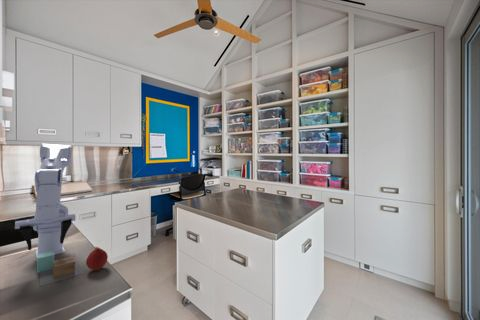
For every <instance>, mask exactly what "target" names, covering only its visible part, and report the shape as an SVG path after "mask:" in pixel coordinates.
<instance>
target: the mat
mask: <svg viewBox="0 0 480 320" xmlns="http://www.w3.org/2000/svg"><path fill="white" fill-rule="evenodd" d="M38 274H39V275H38V276H39V284H40V286H39V287H42V286H45V285H50V284H53V283H55V282H60V281H63V280H67V279H69V278H70V279H71V278H73V277H76V276H79V275H82V274H85V273H84V271H83V268H82V266H81V264H80V262H79V261H76V262H75V272H74V273H71V274H67V275H64V276H60V277H57V278H54V277H53V269H50V270H46V271H42V272H39V273H38Z"/></svg>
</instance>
